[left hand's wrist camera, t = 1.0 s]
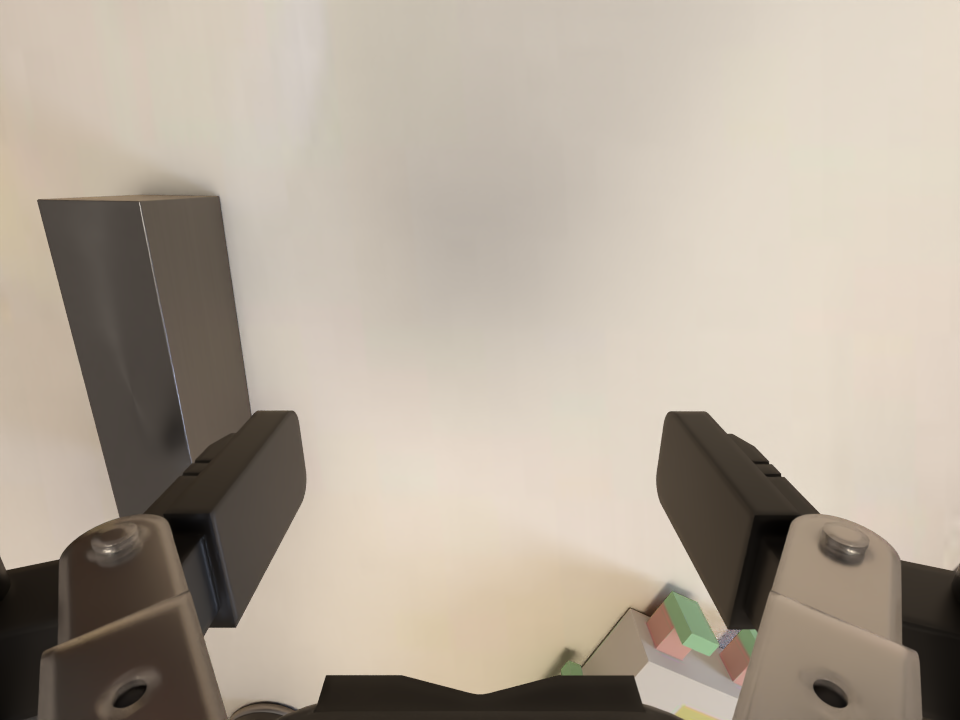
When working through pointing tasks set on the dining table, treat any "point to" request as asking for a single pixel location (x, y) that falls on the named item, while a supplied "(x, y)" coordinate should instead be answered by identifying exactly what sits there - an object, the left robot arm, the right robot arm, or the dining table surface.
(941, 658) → the left robot arm
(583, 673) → the decorative block
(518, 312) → the dining table surface
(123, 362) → the bar
